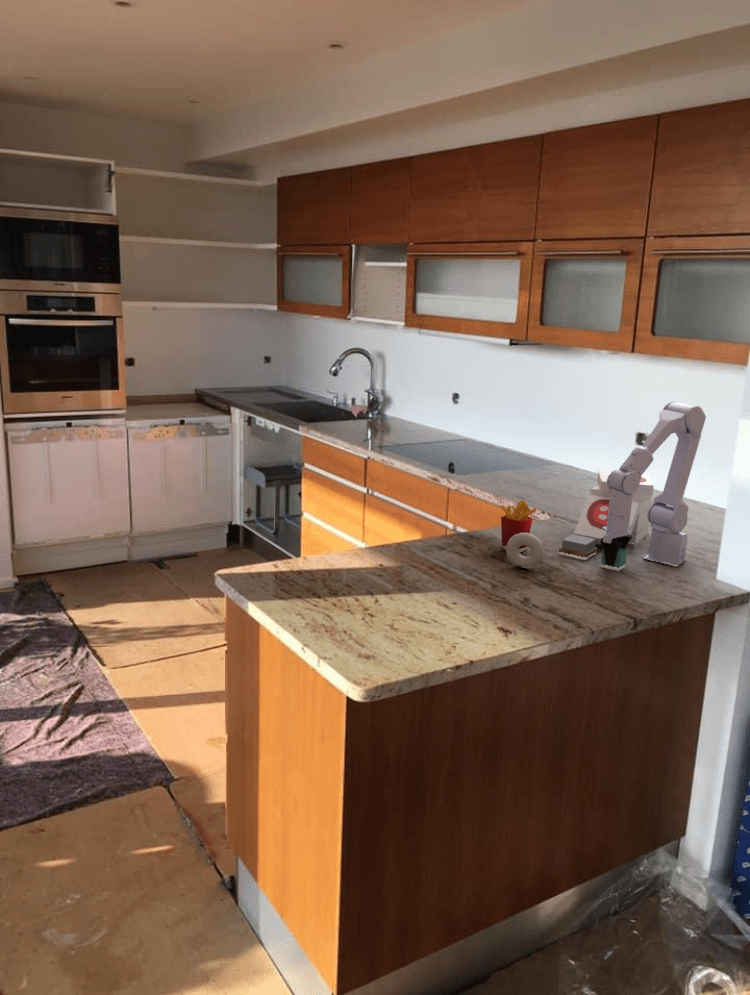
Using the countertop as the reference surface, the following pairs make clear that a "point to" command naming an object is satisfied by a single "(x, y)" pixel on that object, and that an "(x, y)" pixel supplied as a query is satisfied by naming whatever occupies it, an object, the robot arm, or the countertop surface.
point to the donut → (529, 541)
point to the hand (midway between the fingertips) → (613, 562)
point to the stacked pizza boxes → (599, 506)
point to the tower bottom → (578, 552)
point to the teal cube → (617, 558)
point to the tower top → (578, 543)
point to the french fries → (516, 521)
